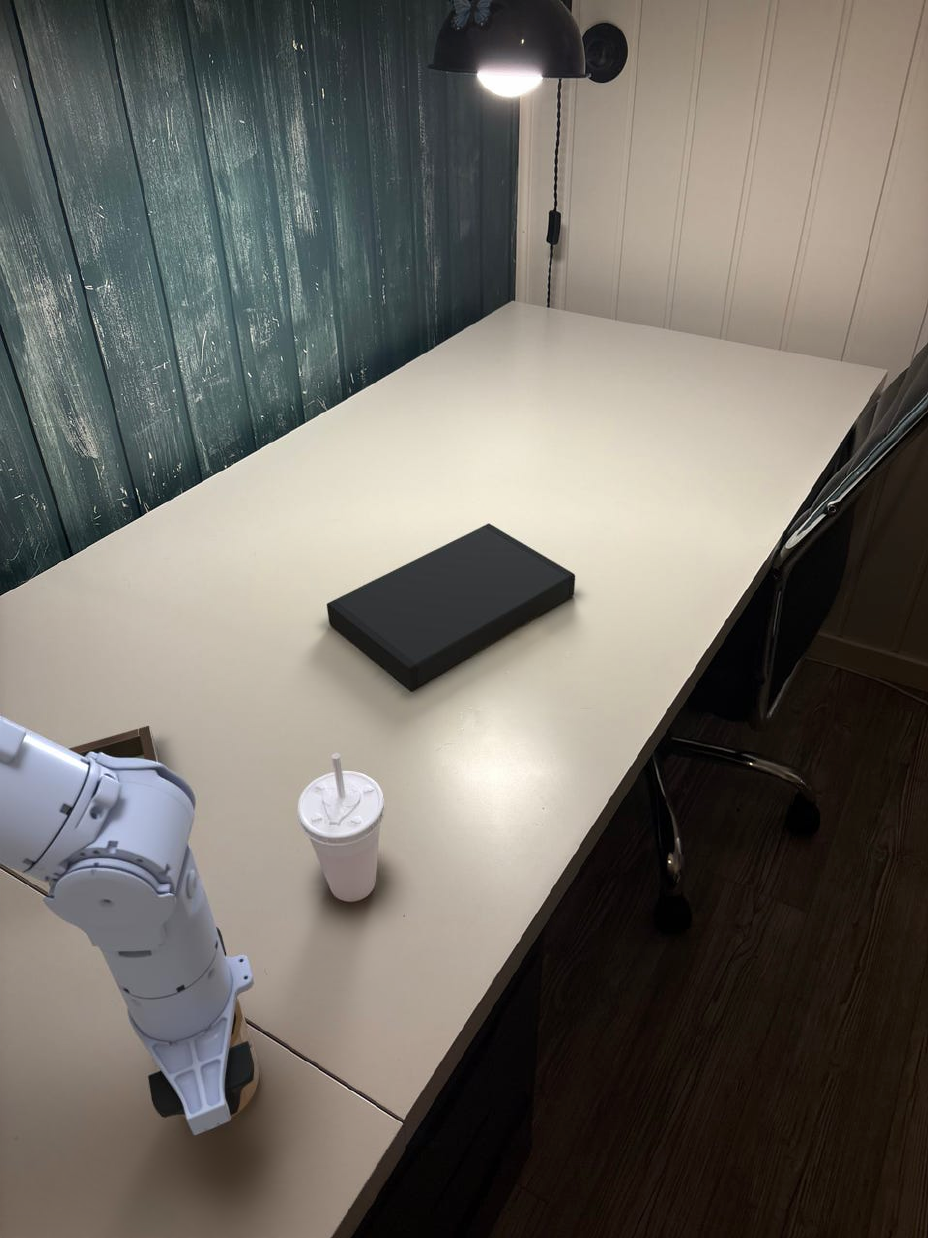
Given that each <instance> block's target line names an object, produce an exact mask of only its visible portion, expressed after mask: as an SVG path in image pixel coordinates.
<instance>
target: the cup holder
mask: <svg viewBox="0 0 928 1238" xmlns="http://www.w3.org/2000/svg"><path fill="white" fill-rule="evenodd" d="M68 749H69V750H71V751H73V752H75V753H77V754H79V755H81V756H83V757H85V756H86V755H87V754H88V753H89V752H94V753H96V754H99V753H100V752H101V753H103V754H106V755H108V756H111V757H115V758H139V759H146V760H151V761H155V762H158V763H161V760H160V756H159V751H158V748H157V744H156V741H155V738H154V735H153V732H152V729H151V726H150V725H146V726H142V727H139V728H135V729H131V730H128V731H124V732H121V733H118V734H114V735H110V736H107V737H103V738H100V739H96V740H94V741H90V742H87V743H84V744H79V745H76V746H72V747H70V748H68Z"/></svg>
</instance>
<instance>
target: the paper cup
mask: <svg viewBox="0 0 928 1238" xmlns="http://www.w3.org/2000/svg"><path fill="white" fill-rule="evenodd" d="M246 1041H248V1042H249V1046H250V1050H251V1053H252V1057H253V1061H254V1078H253V1081H252V1082H251V1083H249V1084H248V1085H246V1086H245V1087H244V1088H243V1089H242V1091H241V1097H240V1105H239V1109H238V1111H237V1113H235V1114H233V1115H230V1117H231V1118H234V1117H235V1116H236V1115H238V1114H239V1113H240V1112H241V1111H242V1110H244V1108H245V1107H246V1106H247V1105H248V1104H249V1102H250V1101H251V1099H253V1097H254V1094H255V1092H256V1090H257V1087H258V1083H259V1081H260V1080H259V1079H260V1065H259V1061H258V1055H257V1053H256V1049H255V1047H254V1043H253V1039H252V1037H251V1035H250V1031H249V1028H248V1025H247V1021H246V1018H245V1015H244V1012H243V1008H242V1006H241V1003H240V1000H239V998H237V999H236V1005H235V1012H234V1019H233V1025H232V1032H231V1039H230V1046H229V1048H231V1047H233V1046H236V1045H238V1044H241V1043H243V1042H246ZM149 1056H150V1058H151V1060H152V1062H153V1064H154V1067H155V1068H156V1072H158V1071H161V1070H160V1068H159V1067H158V1065H157V1064H156V1062H155V1061H154V1059H153V1058H152V1056H151V1055H150V1054H149ZM181 1116H182V1118H184V1119H185V1120H187V1119H186V1115H181Z"/></svg>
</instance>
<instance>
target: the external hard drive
mask: <svg viewBox="0 0 928 1238" xmlns="http://www.w3.org/2000/svg"><path fill="white" fill-rule="evenodd" d="M575 586H576V575H575V573H574V572H572V571H570V570H569V569H567V568H565V567H563V566H562V565H560V564H559V563H557V562H556V561H553V559H550V558H548V557H547V556H545V555H543V554H542V553H539V552H538V551H537V550H534V549H533V548H531V547H530V546H528V545H526V544H525V543H523V542H522V541H520V540H518V539H516V538H515V537H513V536H511V535H510V534H508V533H506V532H504V531H503V530H502V529H500V528H498V527H496V526H495V525H493V524H491V523H486V524H484V525H482V526H480V527H478V528H476V529H474V530H472V531H470V532H468V533H466V534H464V535H462V536H460V537H458V538H456V539H455V540H451V541H450V542H448V543H446V544H444V545H441V546H440V547H438V548H436V549H434V550H432V551H429V552H428V553H426V554H424V555H422V556H420V557H418V558H416V559H414V560H412V561H410V562H407V563H406V564H404V565H402V566H400V567H398V568H396V569H393V570H391V571H389V572H388V573H386V574H384V575H382V576H379V577H377V578H375V579H373V580H371V581H369V582H367V583H366V584H363V585H362V586H359V587H357V588H355V589H353V590H352V591H351V590H350V592H347V593H345V594H343V595H340V597H337V598H334V599H333V600H331V601H329V602H327V603H326V610H327V617H328V623H329V626H330V627H332V629H334V630H335V631H336V632H338V633H339V634H340V635H341V636H343V637H344V638H345V639H346V640H348V642H350V643H351V644H352V645H354V646H355V647H356V648H358V650H360V651H361V652H362V653H363V654H364V655H366V656H367V657H368V658H370V660H372V661H373V662H374V663H376V664H377V665H378V666H379V667H380V668H382V669H383V670H384V671H386V672H387V673H388V674H389V675H390V676H391V677H393V678H394V679H396V680H397V681H398V682H399V683H400V684H401V685H402V686H404V687H405V688H406V689H407V690H409V691H410V692H411V691H414V690H415V689H417V688H418V687H420V686H422V685H423V684H425V683H428V682H429V681H430V680H432V679H433V678H436V677H437V676H439V675H440V674H442V673H444V672H446V671H447V670H449V669H451V668H453V667H454V666H456V665H458V664H459V663H461V662H463V661H464V660H466V659H468V658H469V657H471V656H473V655H475V654H476V653H478V652H480V651H482V650H483V649H485V648H487V647H488V646H490V645H491V644H493V643H495V642H496V641H498V640H500V639H502V638H504V637H505V636H507V635H508V634H511V633H513V631H515V630H518V629H519V628H520V627H522V626H524V625H526V624H527V623H529V622H531V621H532V620H534V619H536V618H537V617H539V616H541V615H543V614H544V613H546V612H548V611H550V610H551V609H553V608H554V607H557V606H558V605H560V604H561V603H563V602H565V601H566V600H568V599H569V598H571V597H574V595H575V589H576V587H575Z"/></svg>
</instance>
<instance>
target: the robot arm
mask: <svg viewBox="0 0 928 1238" xmlns="http://www.w3.org/2000/svg"><path fill="white" fill-rule="evenodd" d="M191 787H192V786H190V784H189V783H188V782H187V781H186V780H185V779H184V778H183V777H182V776H180V775H179V774H178V773H176V772H174V771H173V770H171V769H169V768H168V767H167V766H166V765H164V764H163V763H161V762H160V763H158V762H155V761H151V760H146V759H139V758H115V757H111V756H108V755H106V754H103V753H101V752H100V753H99V754H96V753H94V752H89V753H88V754H87V755H86V756H85V757H83V756H81V755H79V754H77V753H75V752H73V751H71V750H69V748H67V747H65V746H62V745H61V744H58V743H56V742H55V741H53V740H50V739H49V738H47V737H44V736H42V735H41V734H39V733H37V732H35V731H32V730H30V729H28V728H27V727H24V726H22V725H20V724H18V723H17V722H14V721H13V720H10V719H8V718H6V717H4V716H2V715H0V864H1V865H4V866H5V867H8V868H11V869H13V870H15V871H17V872H21V873H22V874H26V875H27V876H30V877H32V878H34V879H37V880H40V881H42V882H44V883H48V885H49V887H50V888H49V890H48V893H47V895H48V896H44V897H43V903H44V904H45V905H46V906H47V908H48V909H49V910H50V911H51V912H52V913H53V914H54V915H56V916H57V917H58V918H60V919H61V920H63V921H65V922H66V923H69V924H70V925H73V926H75V927H77V928H79V929H80V930H82V932H84V933H85V934H86V935H87V937H88V939H89V942H90V945H92V947H98V948H99V950H100V952H101V953H102V955H103V958H104V960H105V962H106V964H107V966H108V968H109V971H110V972H111V975H112V978H113V979H114V981H115V983H116V986H117V988H118V990H119V992H120V994H121V996H122V999H123V1001H124V1003H125V1005H126V1007H127V1016H128V1020H129V1023H130V1025H131V1028H132V1029H133V1031H134V1033H135V1034H136V1036H137V1037H138V1039H139V1041H140V1042H141V1043H142V1045H143V1047H144V1048H145V1049H146V1051H147V1052H148V1053H149V1056H150V1055H151V1056H152V1058H153V1059H154V1061H155V1062H156V1064H157V1065H158V1067H159V1068H160V1070H161V1071H156V1072H153V1073H151V1074H148V1076H147V1079H148V1085H149V1091H150V1097H151V1102H152V1105H153V1107H154V1109H155V1111H156V1112H157V1114H158V1115H159V1116H161V1118H163V1119H166V1118H169V1117H174V1116H182V1115H186V1119H185V1120H186V1122H187V1123H188V1126H189V1128H190V1130H191V1133H192V1135H193V1136H197V1135H199V1134H202V1133H205V1132H208V1131H210V1130H212V1129H214V1128H217V1127H219V1126H221V1125H224V1124H226V1123H227V1122H230V1121H231V1120H232V1117H230V1115H233V1114H235V1113H237V1111H238V1109H239V1105H240V1097H241V1091H242V1089H243V1088H244V1087H245V1086H246V1085H248V1084H249V1083H251V1082H252V1081H253V1078H254V1061H253V1057H252V1053H251V1050H250V1046H249V1042H248V1041H246V1042H243V1043H241V1044H238V1045H236V1046H233V1047H231V1048H229V1046H230V1039H231V1032H232V1025H233V1019H234V1012H235V1005H236V999H238V997H239V995H241V994H242V993H244V992H247V991H249V990H250V989H252V988H253V986H254V984H255V978H254V975H253V971H252V966H251V963H250V961H249V958H248V956H247V955H245V954H237V955H235V956H231V957H229V956H227V955H228V954H227V951H226V946H225V943H224V939H223V934H222V932H221V930H220V928H218V926H217V925H216V922H215V919H214V916H213V912H212V910H211V906H210V903H209V899H208V897H207V893H206V891H205V887H204V884H203V881H202V878H201V876H200V874H199V873H200V872H199V871H198V870H199V869H198V866H197V864H196V860H195V856H194V854H193V851H192V848H191V845H190V844H189V840H190V836H191V832H192V828H193V825H194V820H195V809H196V805H197V802H196V800H197V799H196V796H195V793H194V791H193V789H192V788H191ZM151 1056H150V1057H151ZM152 1058H151V1059H152ZM237 1114H238V1113H237Z"/></svg>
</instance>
